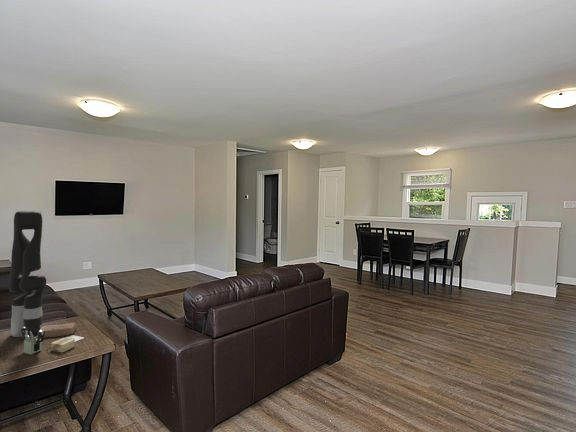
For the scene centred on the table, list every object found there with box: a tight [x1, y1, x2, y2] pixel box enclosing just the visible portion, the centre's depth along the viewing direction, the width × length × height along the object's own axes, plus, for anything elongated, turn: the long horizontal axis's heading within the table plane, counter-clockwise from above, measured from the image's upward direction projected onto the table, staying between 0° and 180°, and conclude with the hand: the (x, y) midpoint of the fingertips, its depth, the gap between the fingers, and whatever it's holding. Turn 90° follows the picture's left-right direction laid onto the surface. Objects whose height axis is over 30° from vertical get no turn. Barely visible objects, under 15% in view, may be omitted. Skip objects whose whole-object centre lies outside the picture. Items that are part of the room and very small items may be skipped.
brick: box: [40, 322, 77, 338], centre depth 188 cm, size 17×8×5 cm, turn 112°
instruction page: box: [65, 334, 85, 343], centre depth 180 cm, size 9×9×1 cm
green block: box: [23, 338, 43, 355], centre depth 165 cm, size 5×5×6 cm
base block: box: [50, 337, 76, 353], centre depth 170 cm, size 7×7×4 cm
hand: (32, 349), depth 165 cm, fingers closed on green block, 5 cm apart
